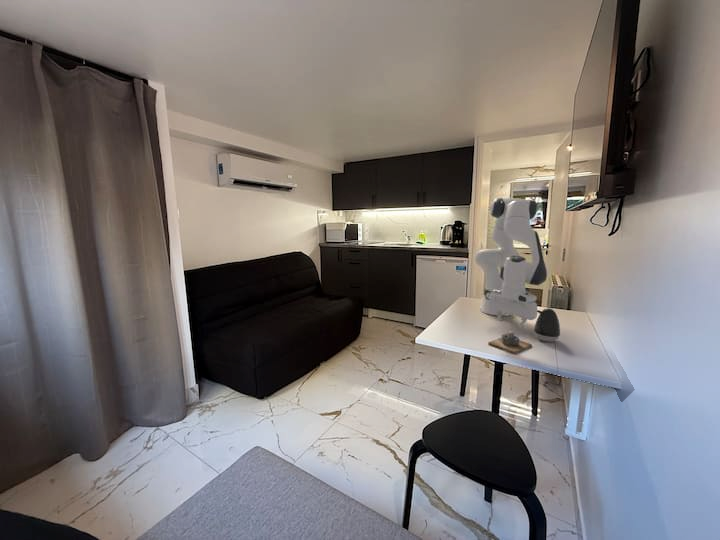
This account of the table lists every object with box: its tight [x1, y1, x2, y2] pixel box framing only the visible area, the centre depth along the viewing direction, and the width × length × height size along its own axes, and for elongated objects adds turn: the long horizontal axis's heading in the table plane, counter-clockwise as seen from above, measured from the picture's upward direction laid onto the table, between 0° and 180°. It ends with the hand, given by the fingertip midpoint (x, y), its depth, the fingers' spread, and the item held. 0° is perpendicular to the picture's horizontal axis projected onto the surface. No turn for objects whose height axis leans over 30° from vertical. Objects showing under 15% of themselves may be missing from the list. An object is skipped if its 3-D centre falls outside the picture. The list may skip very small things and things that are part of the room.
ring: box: [500, 333, 520, 347], centre depth 131 cm, size 7×7×3 cm
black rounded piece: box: [533, 308, 561, 343], centre depth 136 cm, size 10×10×15 cm
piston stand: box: [488, 331, 533, 355], centre depth 131 cm, size 14×12×6 cm
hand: (510, 323), depth 131 cm, fingers open, 8 cm apart
